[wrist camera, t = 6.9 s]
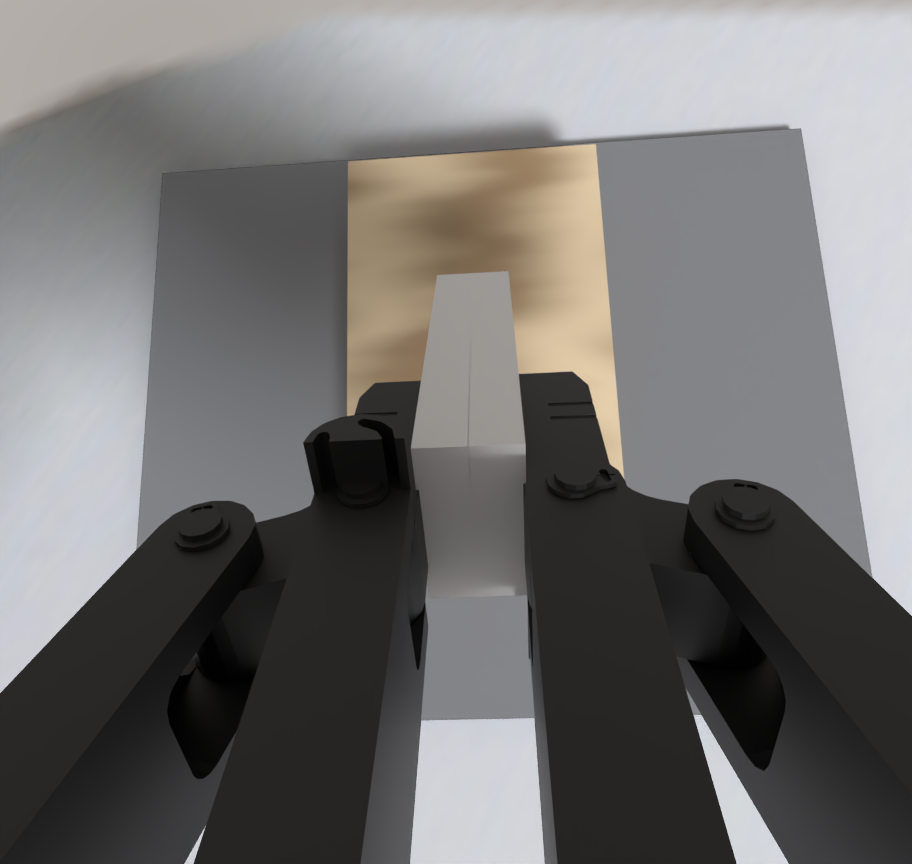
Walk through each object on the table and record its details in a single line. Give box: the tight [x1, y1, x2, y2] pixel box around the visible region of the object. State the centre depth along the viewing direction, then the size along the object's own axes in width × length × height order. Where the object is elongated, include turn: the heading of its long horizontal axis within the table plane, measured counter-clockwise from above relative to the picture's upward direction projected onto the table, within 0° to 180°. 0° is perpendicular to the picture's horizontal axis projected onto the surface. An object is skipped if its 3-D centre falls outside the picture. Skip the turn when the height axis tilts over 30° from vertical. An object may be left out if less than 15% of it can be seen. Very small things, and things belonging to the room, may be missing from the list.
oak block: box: [347, 144, 624, 478], centre depth 23 cm, size 8×3×12 cm
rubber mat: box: [137, 128, 872, 720], centre depth 24 cm, size 24×20×1 cm
